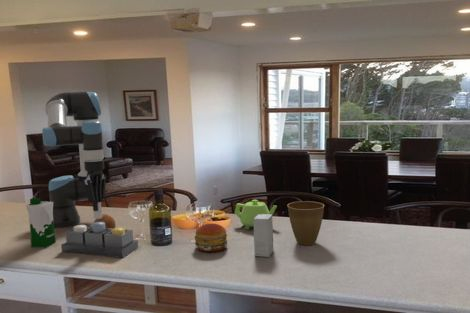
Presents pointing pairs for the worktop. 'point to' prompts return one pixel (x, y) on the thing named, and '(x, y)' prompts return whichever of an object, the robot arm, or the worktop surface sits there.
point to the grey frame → (99, 243)
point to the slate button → (98, 227)
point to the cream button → (80, 228)
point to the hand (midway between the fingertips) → (98, 218)
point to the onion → (107, 221)
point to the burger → (211, 238)
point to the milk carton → (41, 223)
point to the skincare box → (263, 235)
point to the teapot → (252, 212)
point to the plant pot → (306, 220)
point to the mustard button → (118, 231)
